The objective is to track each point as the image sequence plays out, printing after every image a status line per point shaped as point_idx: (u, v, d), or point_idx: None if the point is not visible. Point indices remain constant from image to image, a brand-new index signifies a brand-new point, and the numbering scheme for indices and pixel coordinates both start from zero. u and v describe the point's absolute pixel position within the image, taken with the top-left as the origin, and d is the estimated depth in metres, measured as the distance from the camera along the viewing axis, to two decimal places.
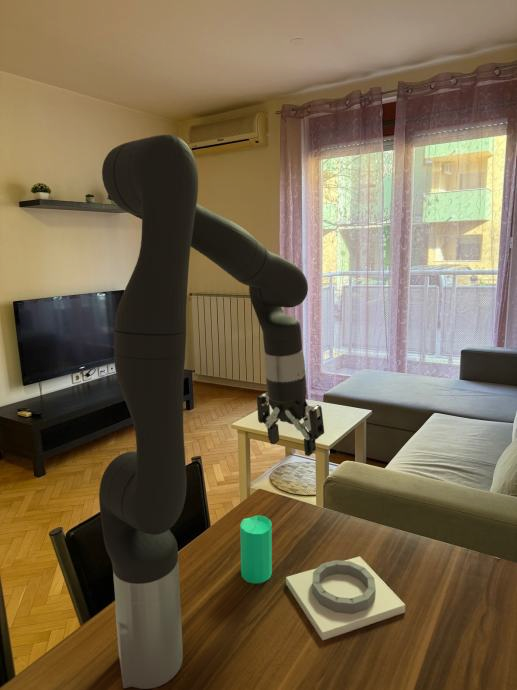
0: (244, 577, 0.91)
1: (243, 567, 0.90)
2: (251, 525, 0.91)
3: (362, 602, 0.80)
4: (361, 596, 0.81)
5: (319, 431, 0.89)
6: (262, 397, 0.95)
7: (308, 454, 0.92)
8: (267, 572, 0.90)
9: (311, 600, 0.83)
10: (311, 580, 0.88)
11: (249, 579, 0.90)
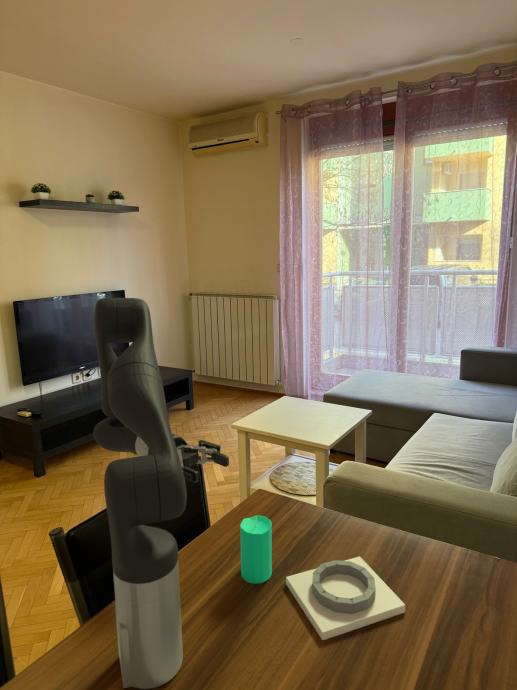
0: (244, 577, 0.91)
1: (243, 567, 0.90)
2: (251, 525, 0.91)
3: (362, 602, 0.80)
4: (361, 596, 0.81)
5: None
6: None
7: None
8: (267, 572, 0.90)
9: (311, 600, 0.83)
10: (311, 580, 0.88)
11: (249, 579, 0.90)
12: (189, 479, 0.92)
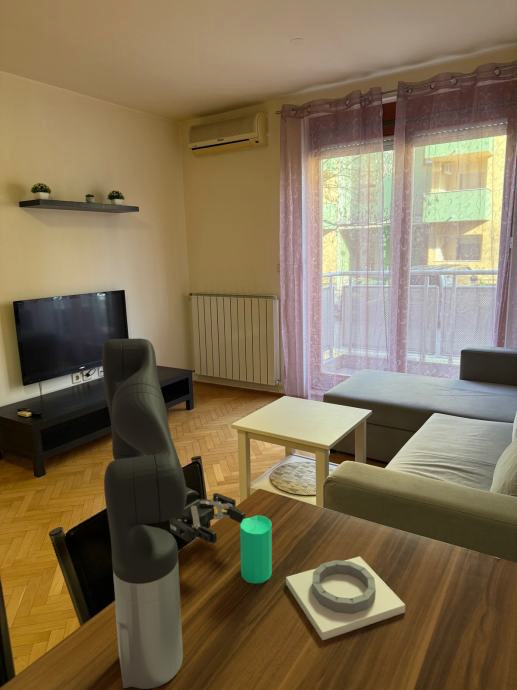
0: (244, 577, 0.91)
1: (243, 567, 0.90)
2: (251, 525, 0.91)
3: (362, 602, 0.80)
4: (361, 596, 0.81)
5: None
6: None
7: None
8: (267, 572, 0.90)
9: (311, 600, 0.83)
10: (311, 580, 0.88)
11: (249, 579, 0.90)
12: (207, 540, 0.92)
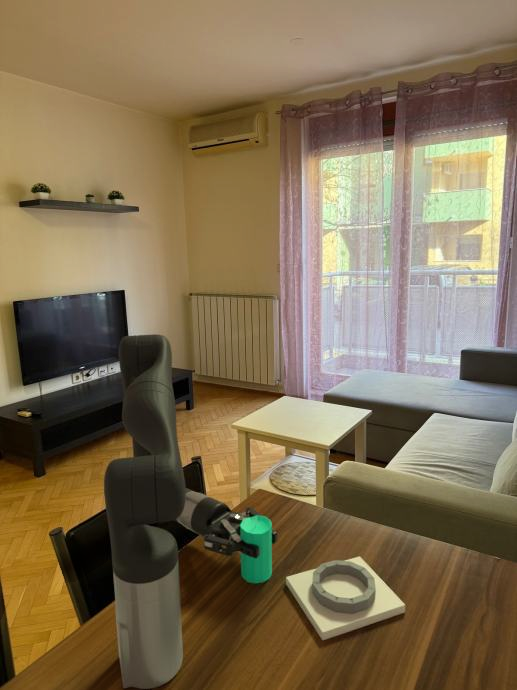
0: (244, 577, 0.91)
1: (243, 567, 0.90)
2: (251, 525, 0.91)
3: (362, 602, 0.80)
4: (361, 596, 0.81)
5: None
6: None
7: None
8: (267, 572, 0.90)
9: (311, 600, 0.83)
10: (311, 580, 0.88)
11: (249, 579, 0.90)
12: (249, 554, 0.87)
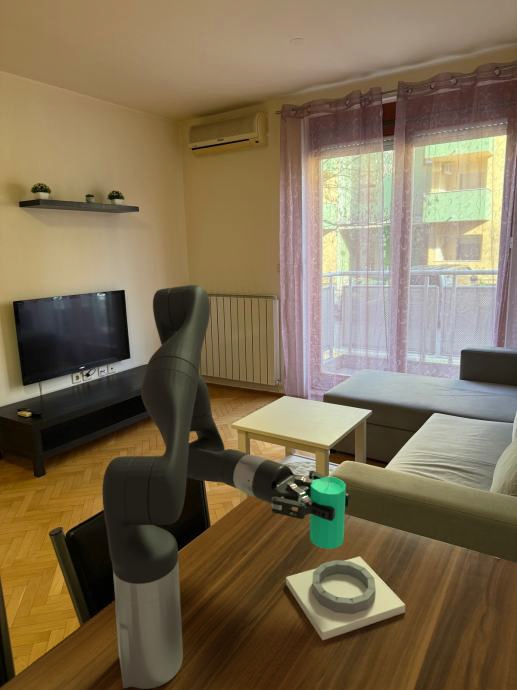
0: (315, 542, 0.83)
1: (314, 531, 0.83)
2: (323, 486, 0.83)
3: (362, 602, 0.80)
4: (361, 596, 0.81)
5: None
6: None
7: None
8: (341, 536, 0.83)
9: (311, 600, 0.83)
10: (311, 580, 0.88)
11: (321, 544, 0.83)
12: (324, 517, 0.80)
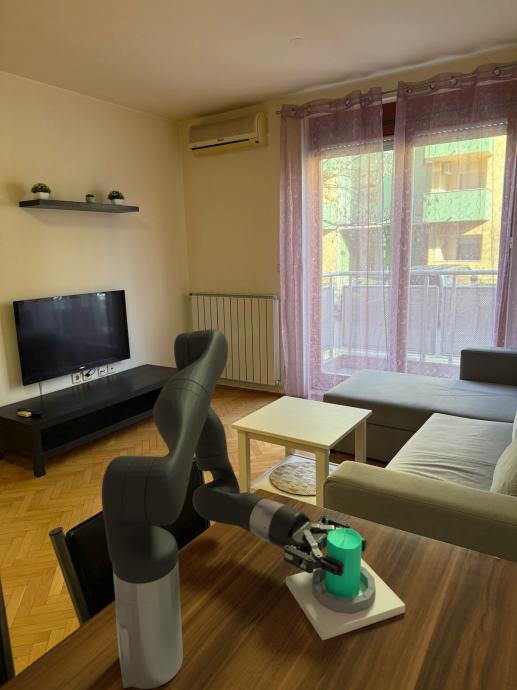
0: None
1: (330, 584, 0.83)
2: (339, 539, 0.84)
3: (362, 602, 0.80)
4: (361, 596, 0.81)
5: None
6: None
7: None
8: (357, 589, 0.83)
9: (311, 600, 0.83)
10: (311, 580, 0.88)
11: None
12: (333, 572, 0.80)
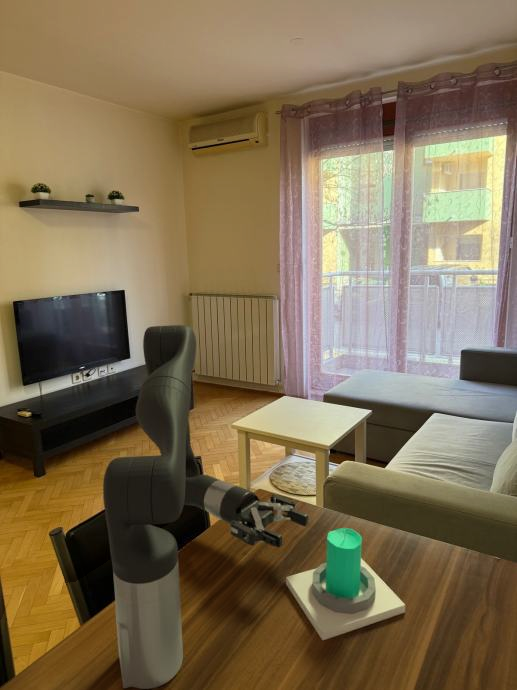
0: None
1: (330, 584, 0.83)
2: (339, 539, 0.84)
3: (362, 602, 0.80)
4: (361, 596, 0.81)
5: None
6: None
7: None
8: (357, 589, 0.83)
9: (311, 600, 0.83)
10: (311, 580, 0.88)
11: None
12: (272, 544, 0.87)
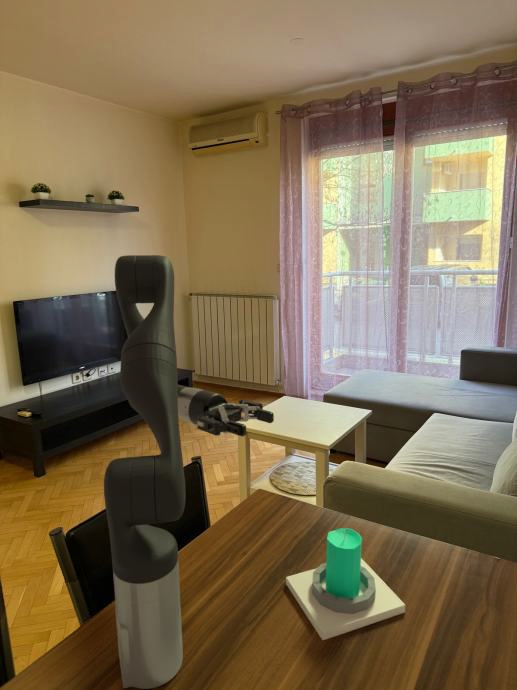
0: None
1: (330, 584, 0.83)
2: (339, 539, 0.84)
3: (362, 602, 0.80)
4: (361, 596, 0.81)
5: None
6: None
7: None
8: (357, 589, 0.83)
9: (311, 600, 0.83)
10: (311, 580, 0.88)
11: None
12: (236, 432, 0.89)
